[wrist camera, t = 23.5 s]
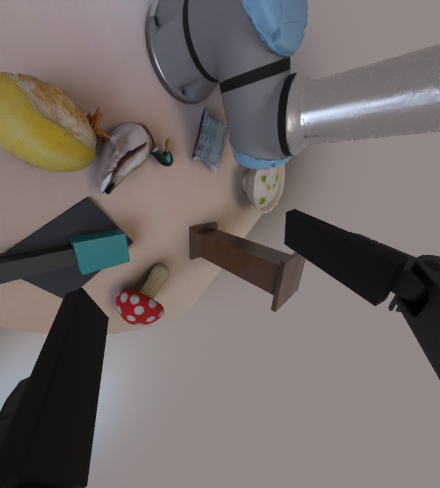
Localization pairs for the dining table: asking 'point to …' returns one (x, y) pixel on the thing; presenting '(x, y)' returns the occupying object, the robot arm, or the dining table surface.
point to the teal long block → (69, 256)
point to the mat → (56, 235)
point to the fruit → (43, 125)
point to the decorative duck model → (124, 152)
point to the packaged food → (210, 141)
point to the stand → (249, 261)
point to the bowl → (264, 187)
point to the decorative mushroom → (143, 299)
